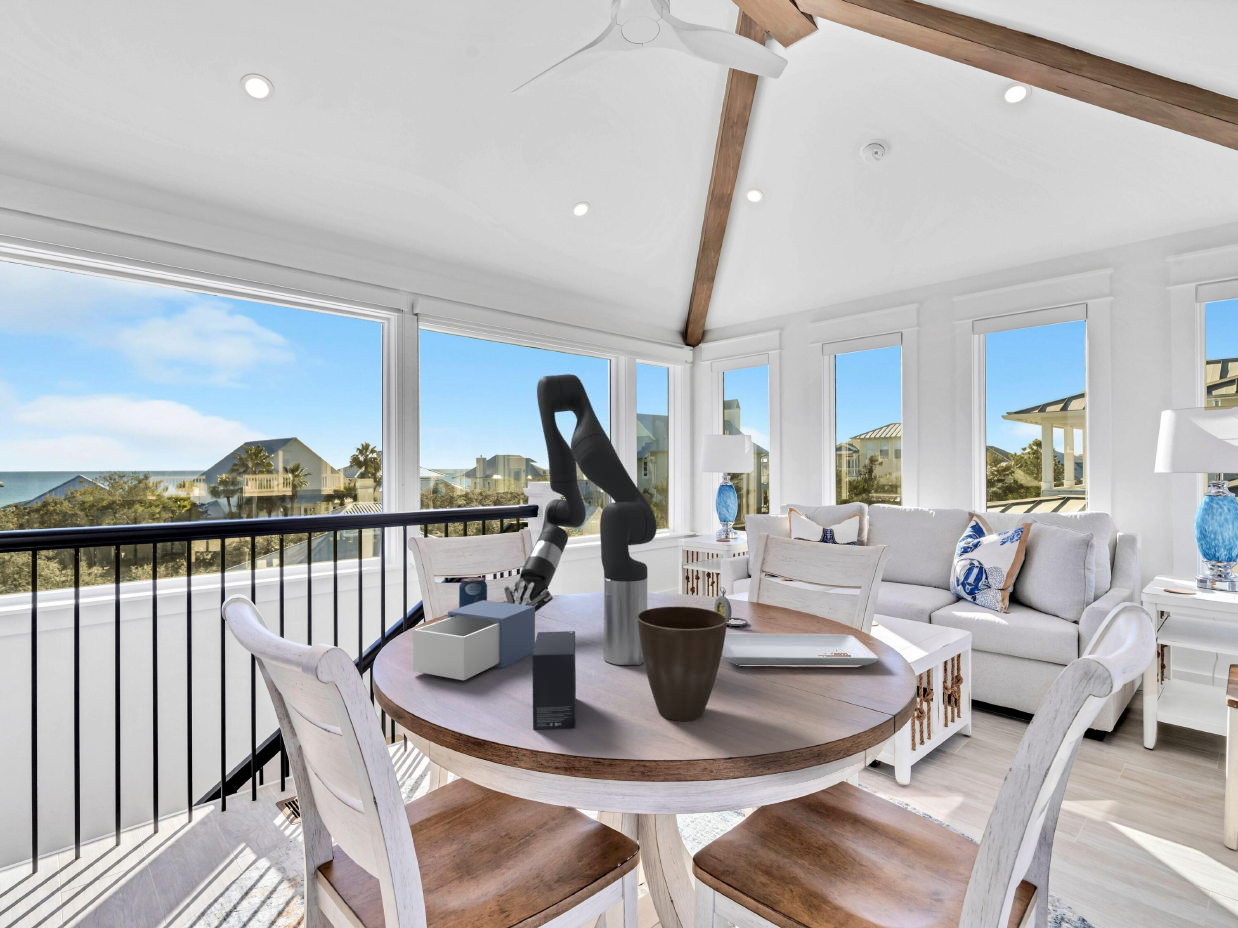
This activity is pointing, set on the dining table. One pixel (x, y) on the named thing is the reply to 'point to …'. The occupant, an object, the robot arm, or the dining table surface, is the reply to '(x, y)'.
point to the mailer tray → (456, 647)
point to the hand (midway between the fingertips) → (513, 625)
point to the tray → (795, 649)
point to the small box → (554, 681)
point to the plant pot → (681, 657)
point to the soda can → (472, 591)
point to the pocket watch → (726, 609)
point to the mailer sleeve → (506, 627)
